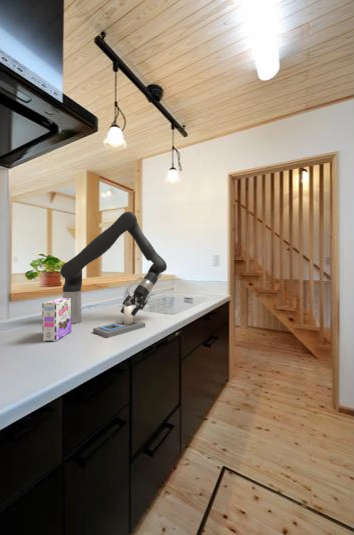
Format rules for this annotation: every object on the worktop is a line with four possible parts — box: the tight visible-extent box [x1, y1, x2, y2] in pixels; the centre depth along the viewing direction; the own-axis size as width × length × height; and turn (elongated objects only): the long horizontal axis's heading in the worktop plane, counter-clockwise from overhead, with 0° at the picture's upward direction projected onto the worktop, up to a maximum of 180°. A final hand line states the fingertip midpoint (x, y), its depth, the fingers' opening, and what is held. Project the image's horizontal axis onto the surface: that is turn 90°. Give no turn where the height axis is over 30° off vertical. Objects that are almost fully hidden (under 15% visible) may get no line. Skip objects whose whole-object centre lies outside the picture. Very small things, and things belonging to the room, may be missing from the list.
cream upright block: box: [123, 301, 134, 326], centre depth 115 cm, size 4×4×13 cm
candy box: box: [41, 297, 72, 342], centre depth 101 cm, size 14×6×16 cm, turn 179°
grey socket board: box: [92, 319, 146, 339], centre depth 111 cm, size 12×22×2 cm, turn 140°
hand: (127, 313), depth 115 cm, fingers open, 8 cm apart
